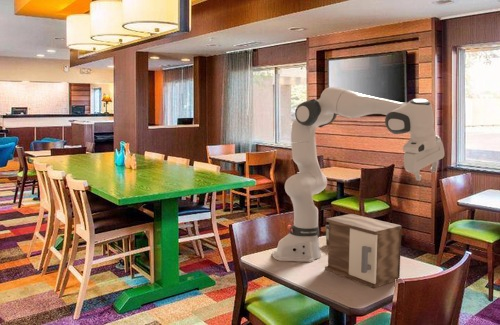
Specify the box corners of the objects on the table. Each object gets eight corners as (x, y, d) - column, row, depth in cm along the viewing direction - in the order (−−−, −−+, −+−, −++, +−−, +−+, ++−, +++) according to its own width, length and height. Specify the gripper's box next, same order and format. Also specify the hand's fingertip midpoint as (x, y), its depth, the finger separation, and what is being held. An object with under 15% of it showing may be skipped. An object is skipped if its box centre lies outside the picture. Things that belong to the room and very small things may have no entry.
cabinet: (373, 288, 182) (375, 231, 179) (324, 269, 203) (325, 218, 200) (399, 279, 191) (401, 225, 188) (350, 262, 212) (351, 213, 209)
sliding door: (367, 286, 180) (369, 236, 178) (342, 276, 190) (343, 229, 188) (376, 283, 183) (377, 234, 180) (350, 273, 193) (351, 227, 191)
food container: (347, 250, 230) (348, 229, 229) (336, 251, 229) (336, 230, 227) (336, 243, 242) (336, 223, 241) (325, 244, 240) (325, 224, 239)
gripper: (432, 133, 188) (435, 166, 192) (399, 148, 177) (403, 183, 181) (447, 134, 183) (449, 168, 187) (413, 150, 172) (417, 186, 176)
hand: (426, 176), depth 184 cm, fingers open, 8 cm apart
